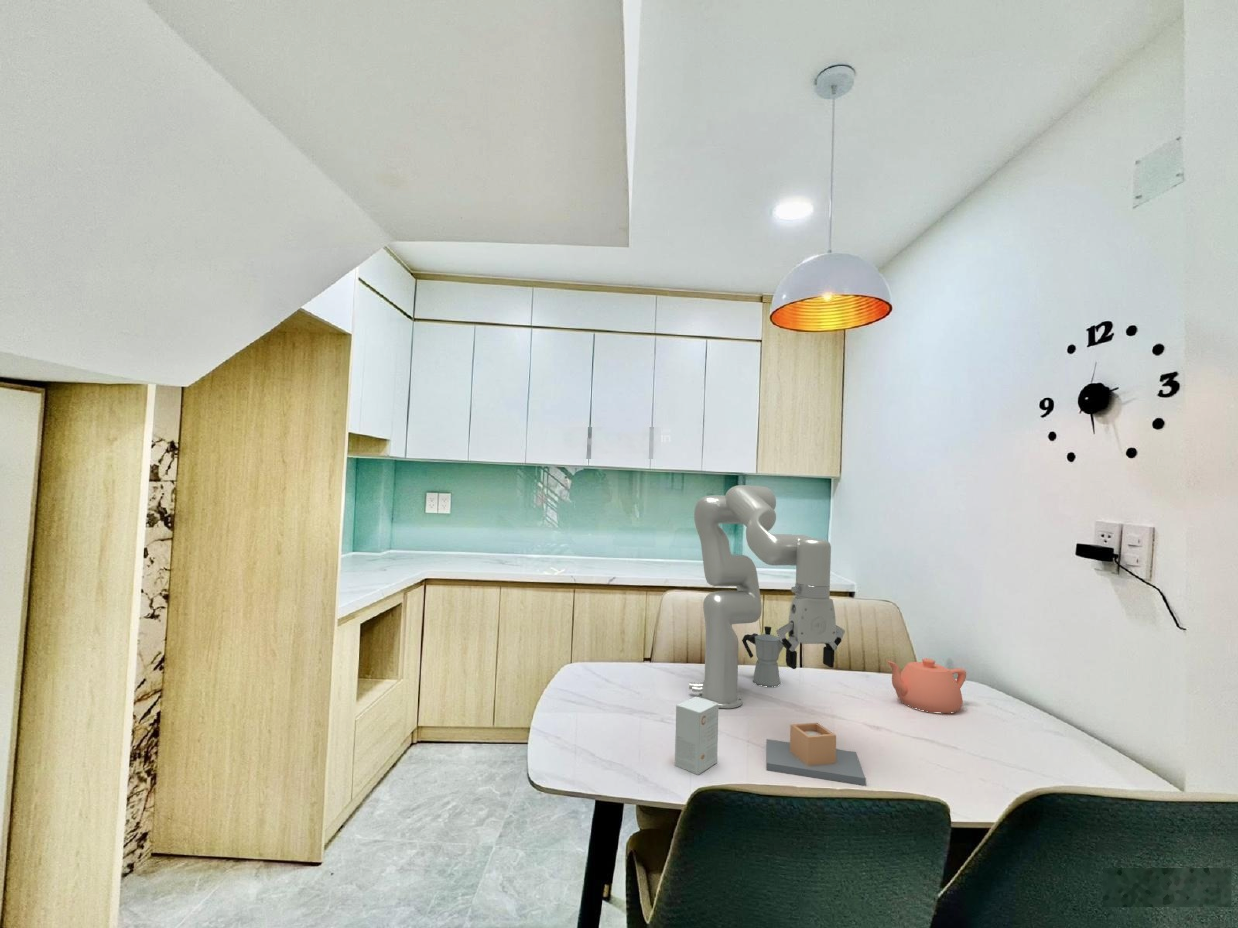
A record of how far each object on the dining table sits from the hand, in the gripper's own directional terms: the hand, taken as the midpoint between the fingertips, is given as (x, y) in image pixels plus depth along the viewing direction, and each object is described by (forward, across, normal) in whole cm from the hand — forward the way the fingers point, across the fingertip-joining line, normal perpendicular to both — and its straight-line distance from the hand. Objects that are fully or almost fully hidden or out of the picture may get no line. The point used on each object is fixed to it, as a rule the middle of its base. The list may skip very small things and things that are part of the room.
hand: (809, 666), depth 129 cm
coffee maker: (+22, +18, +51) cm, 58 cm away
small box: (+21, -27, +2) cm, 34 cm away
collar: (+19, -1, -3) cm, 19 cm away
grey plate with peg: (+21, 0, -3) cm, 21 cm away
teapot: (+21, +57, +25) cm, 66 cm away
